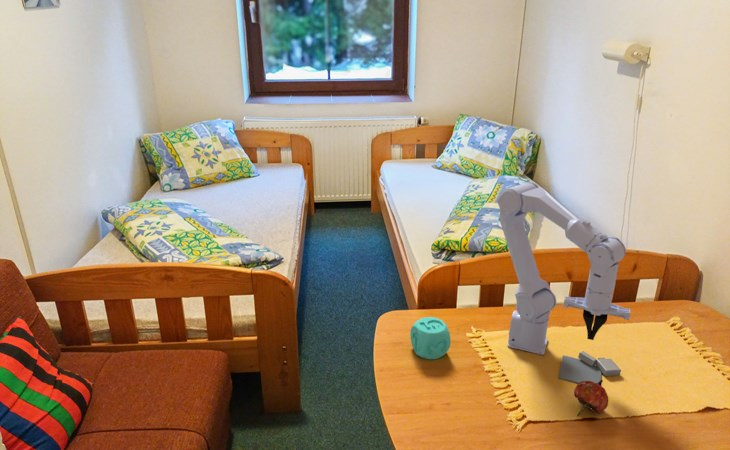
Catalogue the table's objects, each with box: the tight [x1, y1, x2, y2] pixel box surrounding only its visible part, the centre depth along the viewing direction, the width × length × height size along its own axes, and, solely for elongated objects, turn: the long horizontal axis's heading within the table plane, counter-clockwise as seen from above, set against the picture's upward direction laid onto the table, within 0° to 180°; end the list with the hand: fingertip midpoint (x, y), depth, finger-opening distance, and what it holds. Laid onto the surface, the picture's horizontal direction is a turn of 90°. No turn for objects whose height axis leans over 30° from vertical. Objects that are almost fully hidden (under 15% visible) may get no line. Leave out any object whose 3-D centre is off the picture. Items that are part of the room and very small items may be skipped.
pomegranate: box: [573, 379, 609, 417], centre depth 125 cm, size 7×7×10 cm
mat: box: [558, 354, 602, 384], centre depth 139 cm, size 10×10×1 cm
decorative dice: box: [410, 316, 451, 360], centre depth 145 cm, size 8×8×8 cm
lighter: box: [577, 350, 622, 377], centre depth 140 cm, size 7×2×8 cm
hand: (590, 337), depth 134 cm, fingers closed
